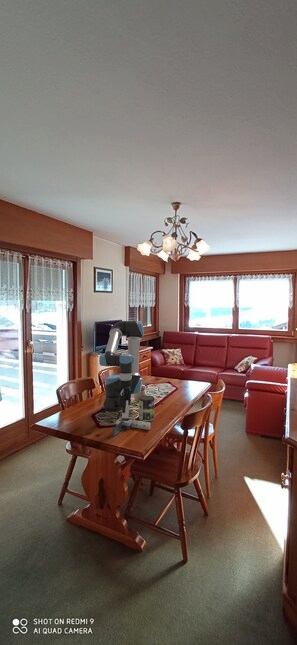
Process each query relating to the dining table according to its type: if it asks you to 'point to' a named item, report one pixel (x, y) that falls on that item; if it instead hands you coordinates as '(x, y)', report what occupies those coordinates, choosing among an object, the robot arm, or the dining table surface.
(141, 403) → the coffee can
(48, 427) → the dining table surface
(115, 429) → the grey flat branched piece
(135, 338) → the robot arm
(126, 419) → the pin
